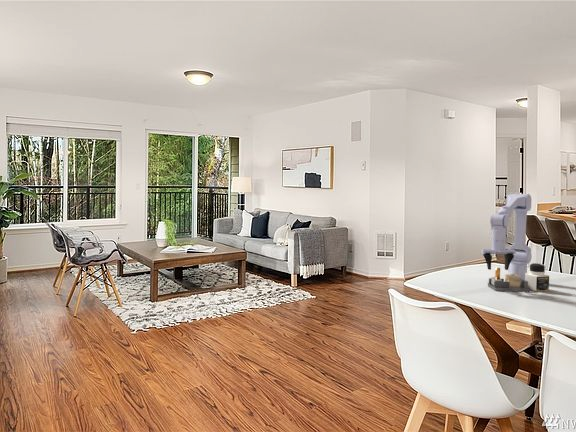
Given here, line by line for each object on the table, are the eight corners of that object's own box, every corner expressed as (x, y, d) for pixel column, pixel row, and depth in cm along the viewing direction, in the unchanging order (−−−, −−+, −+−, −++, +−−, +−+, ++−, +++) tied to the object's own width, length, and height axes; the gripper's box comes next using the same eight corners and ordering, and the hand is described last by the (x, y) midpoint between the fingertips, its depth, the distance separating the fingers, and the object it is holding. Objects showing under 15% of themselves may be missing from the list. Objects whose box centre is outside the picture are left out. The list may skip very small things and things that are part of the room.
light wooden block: (505, 284, 211) (505, 273, 210) (516, 284, 210) (516, 273, 210) (508, 286, 207) (508, 275, 206) (519, 286, 206) (520, 275, 206)
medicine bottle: (536, 291, 203) (537, 265, 202) (524, 288, 210) (525, 263, 209) (549, 290, 205) (550, 264, 204) (536, 287, 212) (537, 262, 211)
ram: (490, 283, 212) (491, 266, 211) (497, 283, 211) (497, 266, 211) (494, 285, 207) (495, 268, 206) (501, 286, 206) (502, 268, 206)
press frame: (487, 286, 214) (487, 276, 214) (519, 286, 213) (519, 277, 213) (495, 291, 204) (495, 281, 204) (528, 291, 203) (529, 281, 203)
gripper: (485, 241, 203) (484, 270, 204) (518, 241, 201) (517, 271, 202) (480, 239, 210) (479, 268, 211) (512, 239, 208) (511, 268, 209)
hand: (497, 269), depth 207 cm, fingers open, 7 cm apart
